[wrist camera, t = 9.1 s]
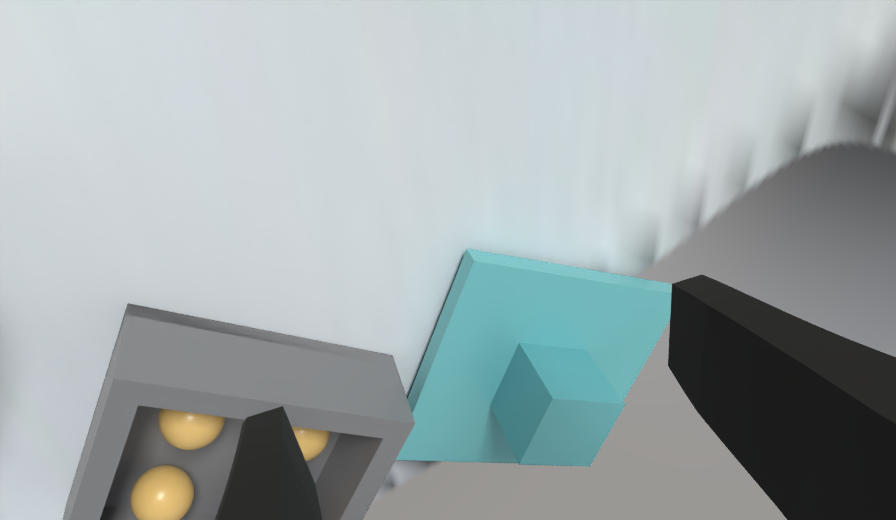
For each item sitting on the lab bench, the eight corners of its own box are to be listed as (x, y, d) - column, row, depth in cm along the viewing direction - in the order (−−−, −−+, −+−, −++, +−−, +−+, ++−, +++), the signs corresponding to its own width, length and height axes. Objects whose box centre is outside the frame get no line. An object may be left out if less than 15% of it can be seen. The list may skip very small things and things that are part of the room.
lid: (572, 441, 31) (619, 522, 27) (386, 433, 27) (412, 524, 24) (663, 275, 27) (732, 343, 23) (461, 239, 23) (506, 313, 20)
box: (307, 523, 28) (317, 601, 25) (65, 506, 24) (45, 596, 21) (392, 355, 25) (415, 423, 22) (127, 303, 21) (113, 378, 18)
